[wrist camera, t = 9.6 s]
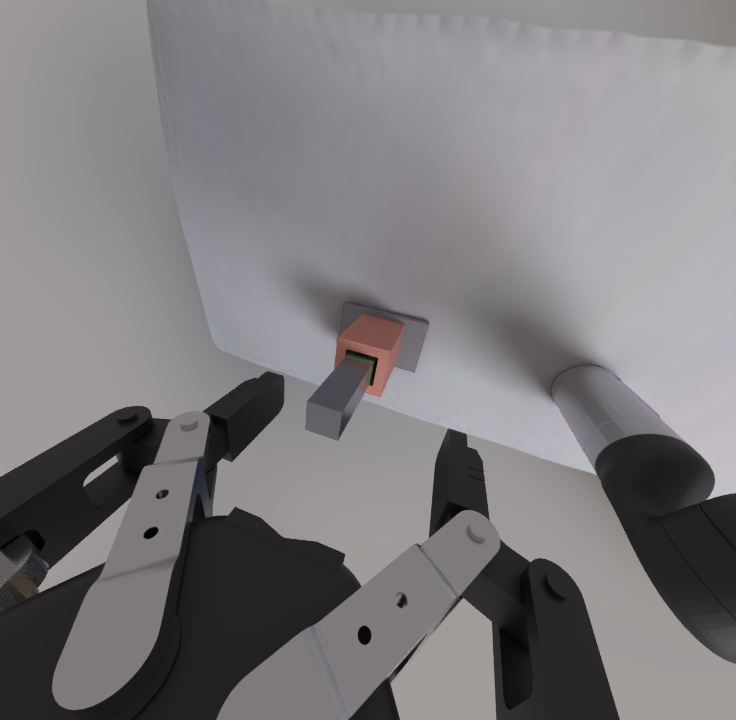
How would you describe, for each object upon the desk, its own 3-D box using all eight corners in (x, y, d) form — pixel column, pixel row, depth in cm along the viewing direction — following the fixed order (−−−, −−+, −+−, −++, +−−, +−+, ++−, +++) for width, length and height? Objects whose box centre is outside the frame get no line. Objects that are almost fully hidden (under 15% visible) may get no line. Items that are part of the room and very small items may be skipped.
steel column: (383, 345, 43) (342, 412, 28) (379, 367, 45) (338, 441, 29) (360, 339, 44) (306, 400, 28) (356, 360, 46) (304, 429, 30)
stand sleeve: (429, 322, 48) (419, 355, 35) (415, 369, 53) (402, 413, 40) (346, 301, 51) (310, 326, 38) (340, 348, 56) (306, 383, 43)
